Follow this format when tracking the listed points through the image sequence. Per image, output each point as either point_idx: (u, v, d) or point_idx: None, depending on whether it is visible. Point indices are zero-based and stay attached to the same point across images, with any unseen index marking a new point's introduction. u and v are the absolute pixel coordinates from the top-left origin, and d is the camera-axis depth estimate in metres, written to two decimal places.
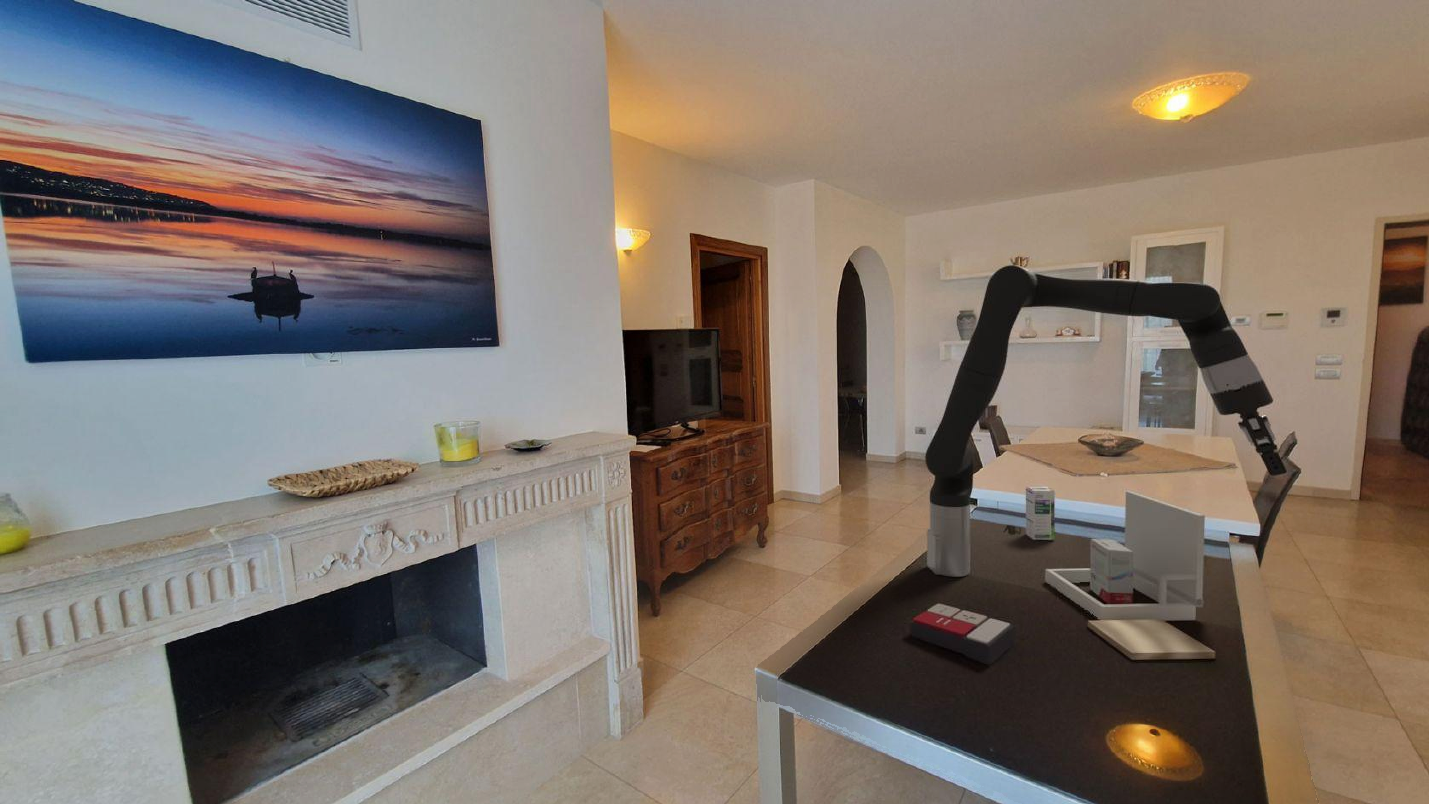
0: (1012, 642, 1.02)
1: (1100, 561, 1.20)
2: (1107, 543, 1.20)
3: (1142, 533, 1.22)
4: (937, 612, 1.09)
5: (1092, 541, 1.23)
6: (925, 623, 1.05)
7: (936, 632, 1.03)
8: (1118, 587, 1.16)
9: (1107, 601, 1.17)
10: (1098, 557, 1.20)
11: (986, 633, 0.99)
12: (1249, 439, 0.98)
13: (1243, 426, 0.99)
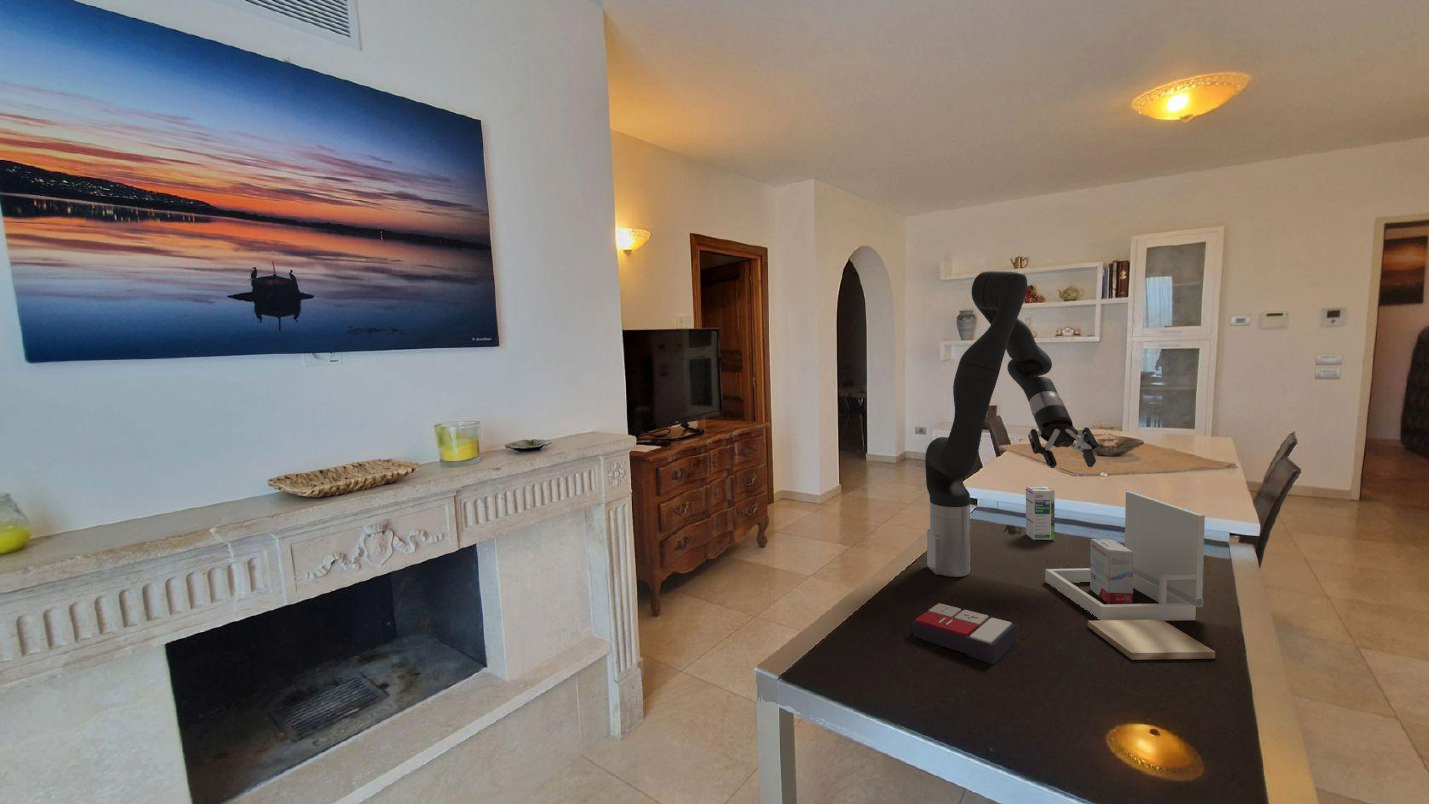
0: (1014, 641, 1.02)
1: (1100, 561, 1.20)
2: (1107, 543, 1.20)
3: (1142, 533, 1.22)
4: (938, 612, 1.09)
5: (1092, 541, 1.23)
6: (928, 623, 1.05)
7: (939, 632, 1.03)
8: (1118, 587, 1.16)
9: (1107, 601, 1.17)
10: (1098, 557, 1.20)
11: (989, 632, 1.00)
12: (1081, 439, 1.35)
13: None
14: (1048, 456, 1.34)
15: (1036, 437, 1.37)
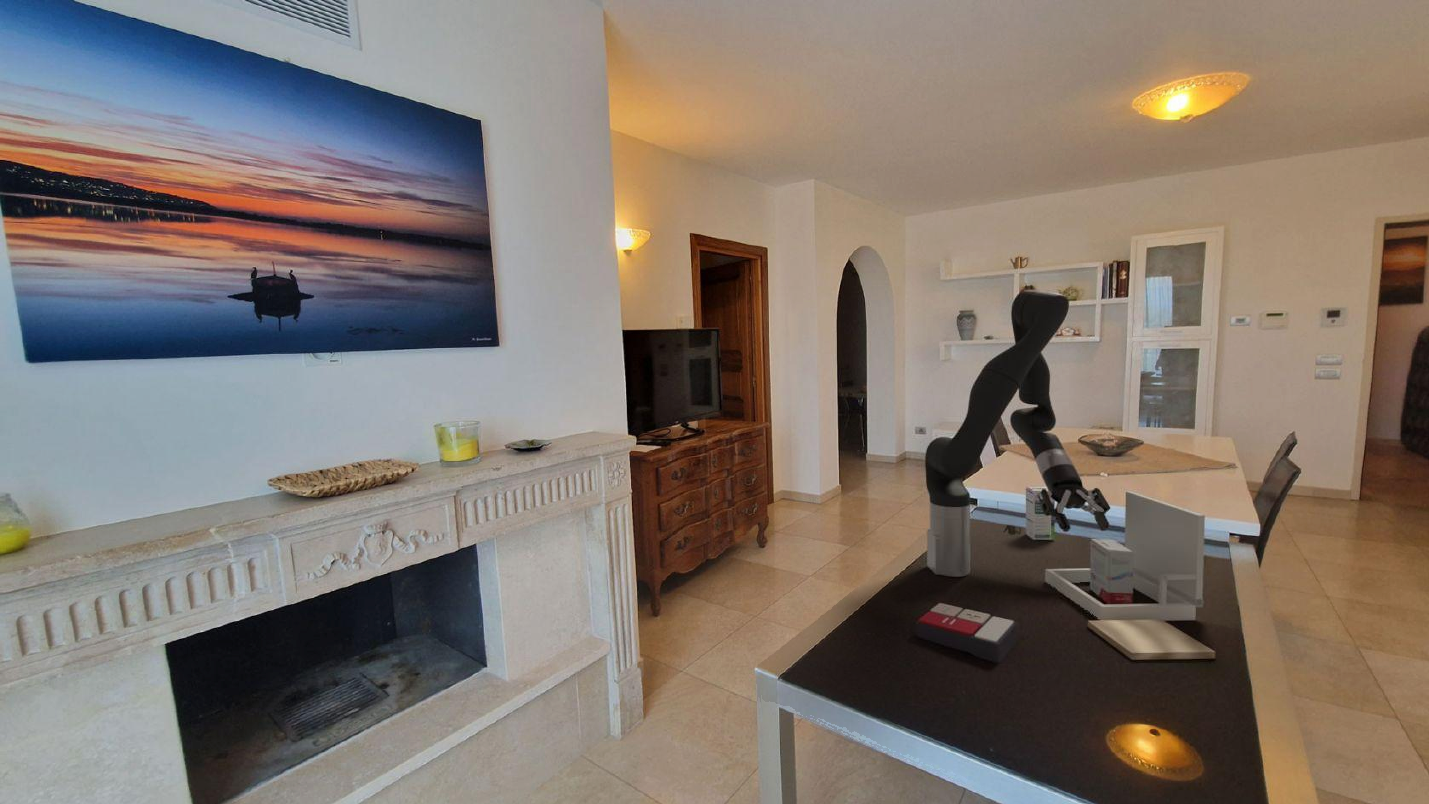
0: (1016, 639, 1.03)
1: (1100, 561, 1.20)
2: (1107, 543, 1.20)
3: (1142, 533, 1.22)
4: (941, 612, 1.09)
5: (1092, 541, 1.23)
6: (931, 623, 1.05)
7: (943, 632, 1.03)
8: (1118, 587, 1.16)
9: (1107, 601, 1.17)
10: (1098, 557, 1.20)
11: (993, 631, 1.00)
12: None
13: None
14: (1061, 519, 1.29)
15: (1047, 498, 1.32)
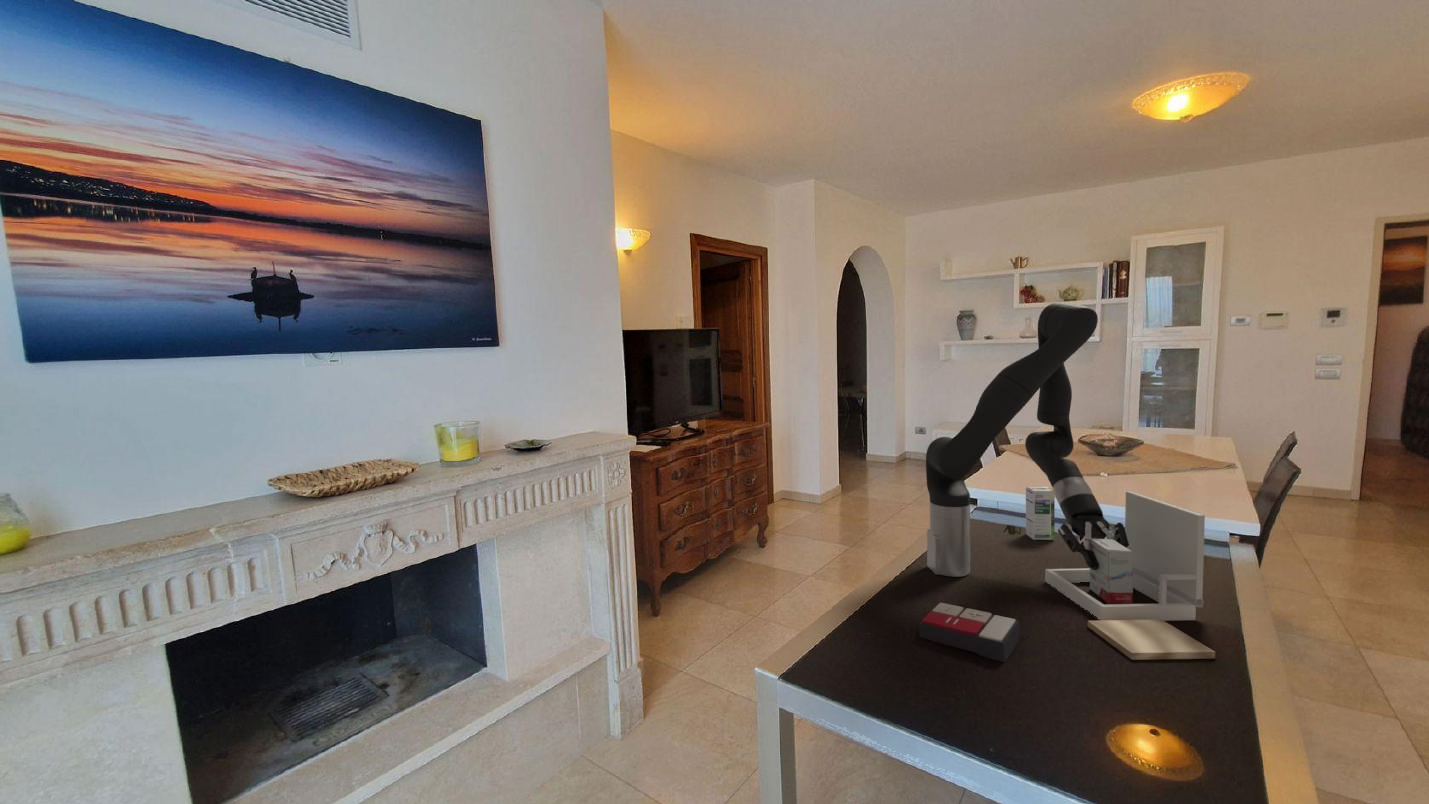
0: (1018, 637, 1.03)
1: (1099, 561, 1.20)
2: (1106, 543, 1.20)
3: (1142, 533, 1.22)
4: (943, 612, 1.09)
5: (1091, 541, 1.23)
6: (935, 624, 1.04)
7: (947, 632, 1.02)
8: (1118, 587, 1.16)
9: (1107, 601, 1.17)
10: (1097, 557, 1.20)
11: (997, 630, 1.00)
12: (1112, 536, 1.24)
13: None
14: (1089, 557, 1.22)
15: (1070, 534, 1.25)
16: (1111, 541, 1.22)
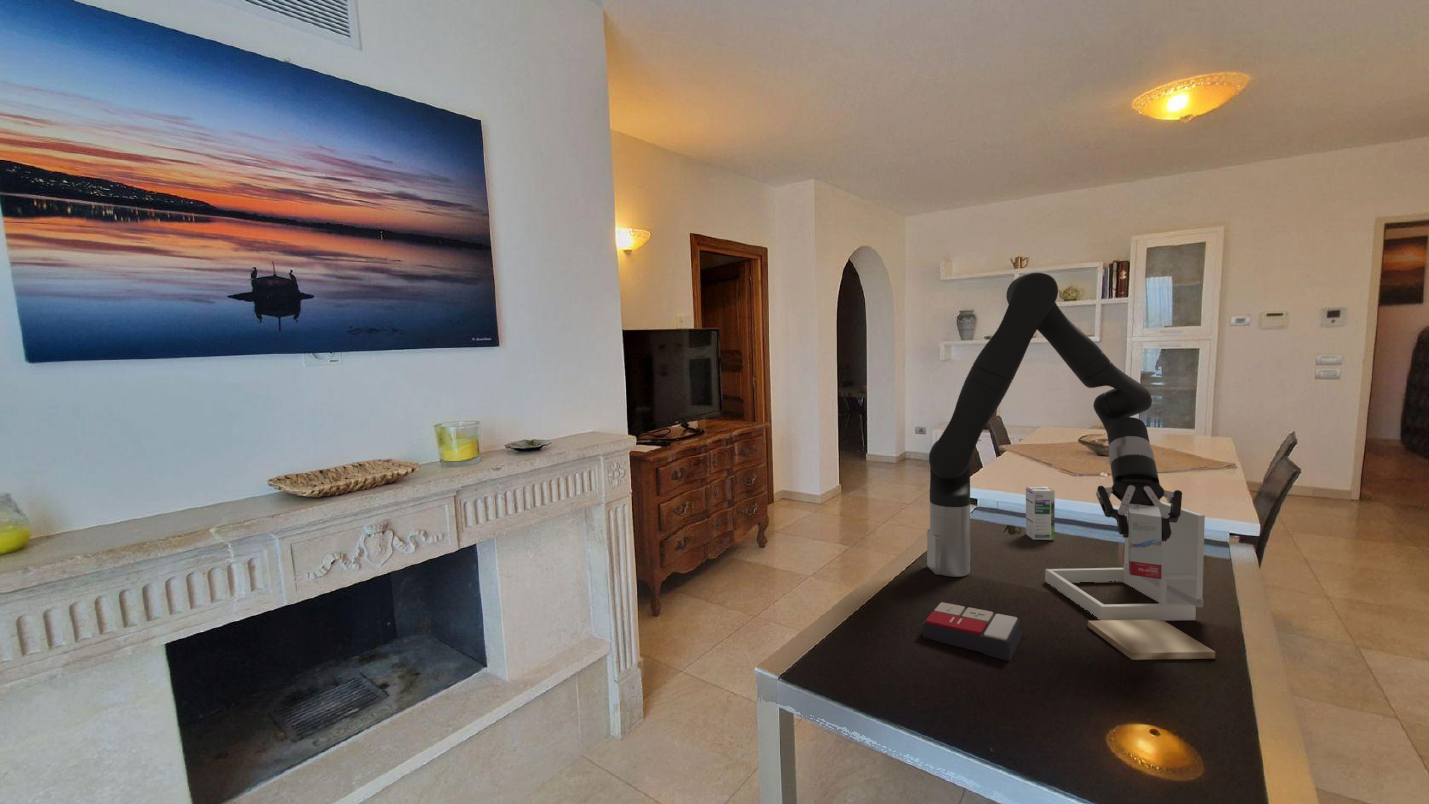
0: (1020, 635, 1.04)
1: None
2: (1141, 508, 1.05)
3: None
4: (945, 611, 1.09)
5: (1128, 506, 1.08)
6: (939, 624, 1.04)
7: (951, 632, 1.02)
8: (1141, 556, 1.02)
9: (1129, 571, 1.03)
10: None
11: (1001, 629, 1.01)
12: (1161, 503, 1.07)
13: None
14: (1120, 522, 1.08)
15: (1105, 496, 1.11)
16: (1152, 508, 1.05)
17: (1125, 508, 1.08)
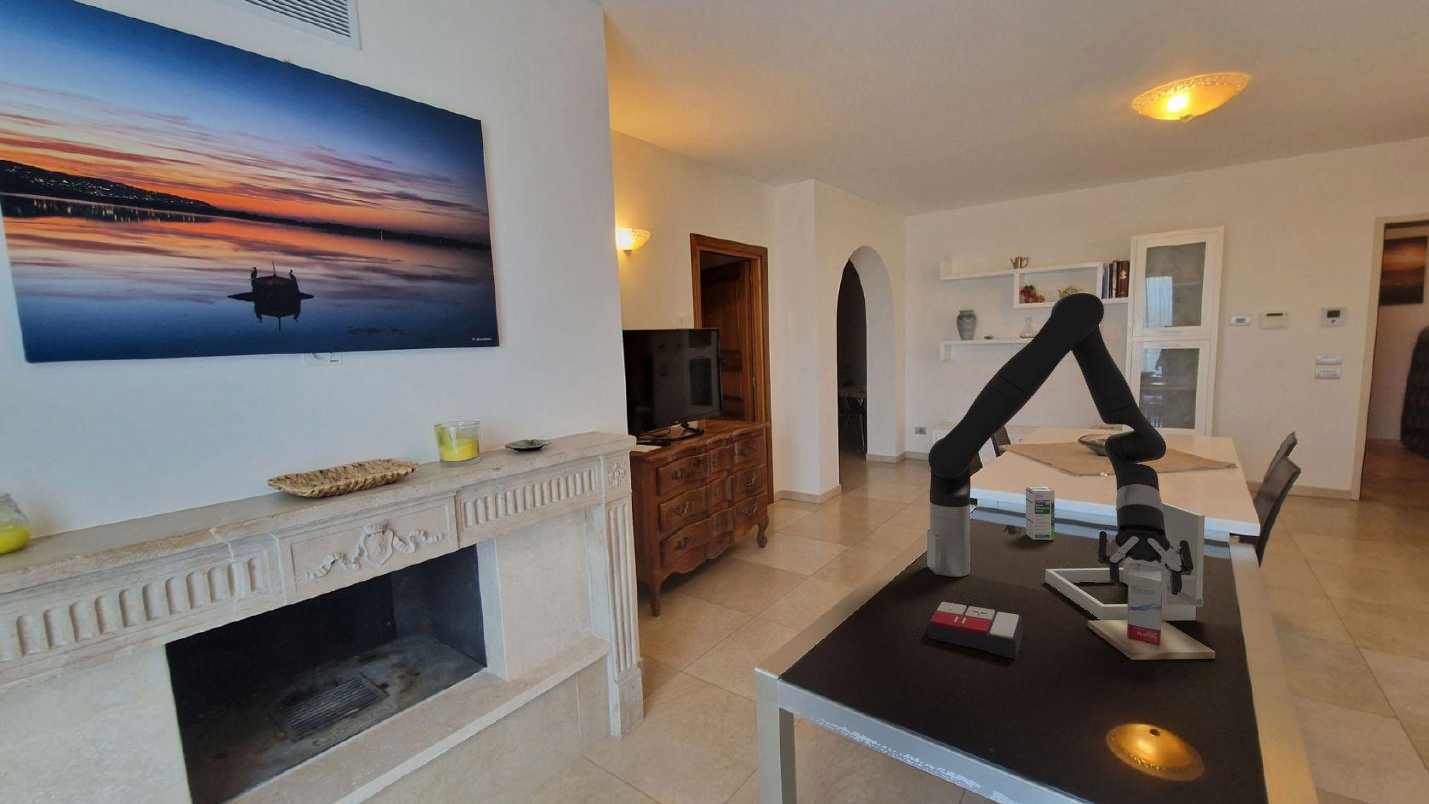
0: (1022, 633, 1.05)
1: None
2: (1142, 569, 1.02)
3: None
4: (947, 611, 1.09)
5: (1130, 565, 1.06)
6: (944, 624, 1.04)
7: (957, 631, 1.03)
8: (1140, 620, 0.99)
9: (1127, 634, 1.01)
10: None
11: (1005, 627, 1.01)
12: (1169, 555, 1.03)
13: None
14: (1112, 570, 1.06)
15: (1103, 543, 1.09)
16: (1154, 569, 1.03)
17: (1119, 557, 1.06)
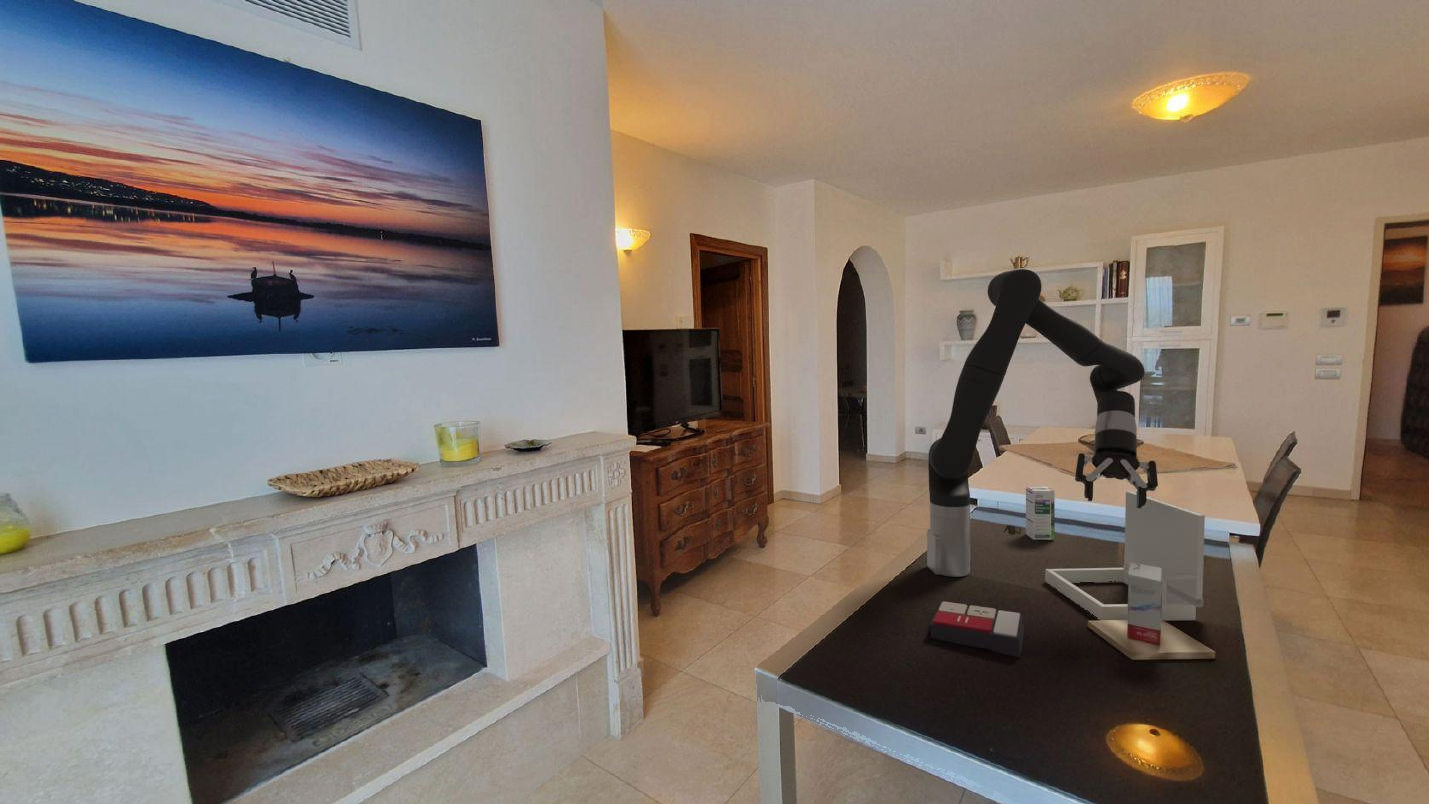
0: (1023, 631, 1.06)
1: None
2: (1142, 569, 1.02)
3: (1142, 533, 1.22)
4: (949, 610, 1.09)
5: (1130, 565, 1.06)
6: (947, 623, 1.04)
7: (960, 631, 1.03)
8: (1140, 620, 0.99)
9: (1127, 634, 1.01)
10: None
11: (1008, 626, 1.02)
12: (1138, 474, 1.16)
13: None
14: (1087, 488, 1.20)
15: (1081, 464, 1.22)
16: (1154, 569, 1.03)
17: (1094, 476, 1.20)
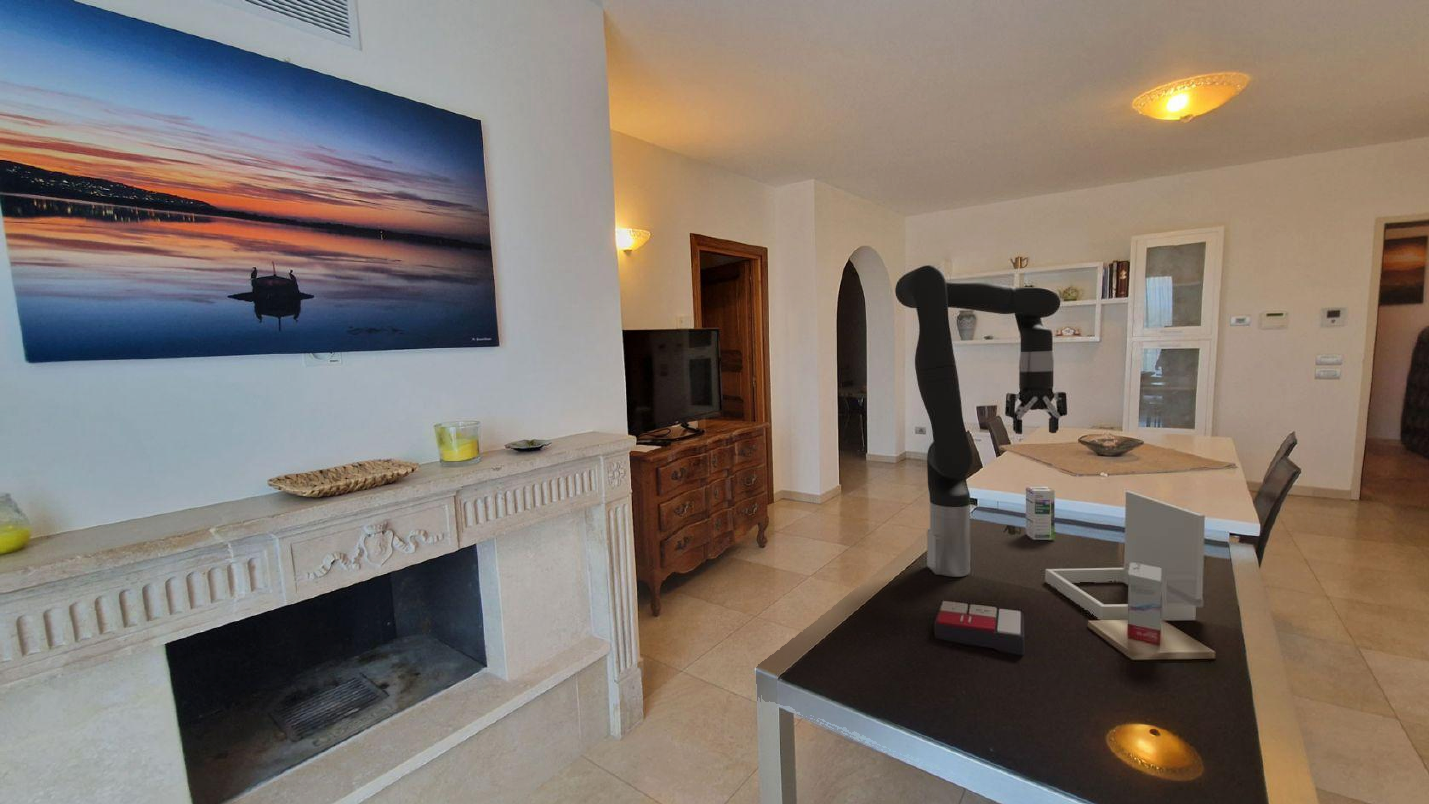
0: None
1: None
2: (1142, 569, 1.02)
3: (1142, 533, 1.22)
4: (951, 610, 1.10)
5: (1130, 565, 1.06)
6: (951, 623, 1.04)
7: (964, 631, 1.03)
8: (1140, 620, 0.99)
9: (1127, 634, 1.01)
10: None
11: (1011, 624, 1.02)
12: (1054, 407, 1.39)
13: None
14: (1017, 424, 1.40)
15: (1013, 404, 1.40)
16: (1154, 569, 1.03)
17: (1023, 414, 1.40)
